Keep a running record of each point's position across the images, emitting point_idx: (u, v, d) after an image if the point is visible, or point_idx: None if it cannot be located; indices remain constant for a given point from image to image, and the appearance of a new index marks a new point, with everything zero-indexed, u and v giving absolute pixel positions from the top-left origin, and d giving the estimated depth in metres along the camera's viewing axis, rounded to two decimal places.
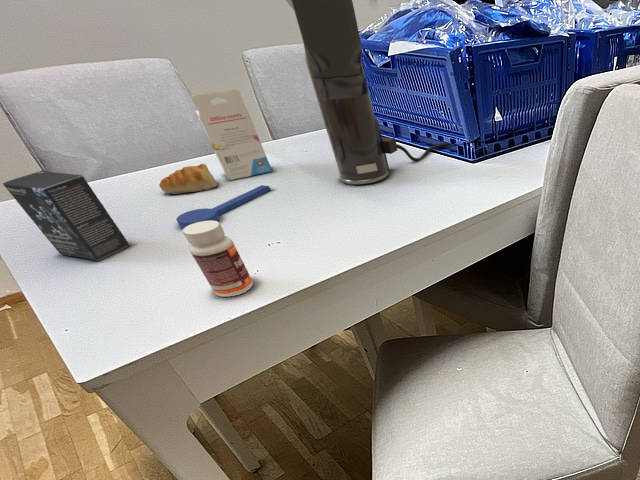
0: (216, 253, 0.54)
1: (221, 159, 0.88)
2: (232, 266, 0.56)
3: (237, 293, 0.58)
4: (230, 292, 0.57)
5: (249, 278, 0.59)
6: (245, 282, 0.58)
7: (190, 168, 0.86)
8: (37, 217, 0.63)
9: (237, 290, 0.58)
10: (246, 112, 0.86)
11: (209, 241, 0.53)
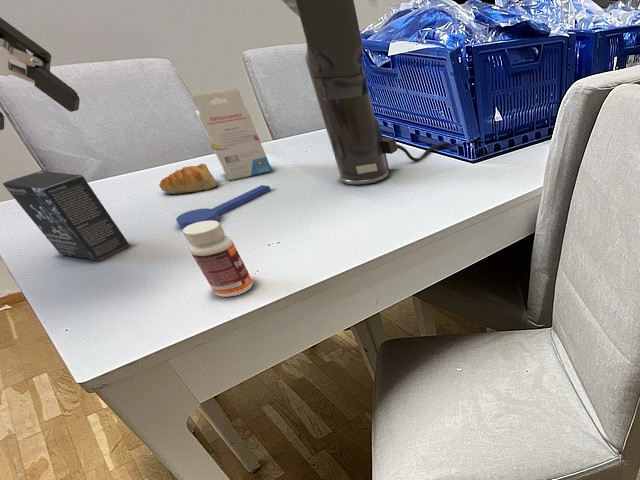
0: (216, 253, 0.54)
1: (221, 159, 0.88)
2: (232, 266, 0.56)
3: (237, 293, 0.58)
4: (230, 292, 0.57)
5: (249, 278, 0.59)
6: (245, 282, 0.58)
7: (190, 168, 0.86)
8: (37, 217, 0.63)
9: (237, 290, 0.58)
10: (246, 112, 0.87)
11: (209, 241, 0.53)
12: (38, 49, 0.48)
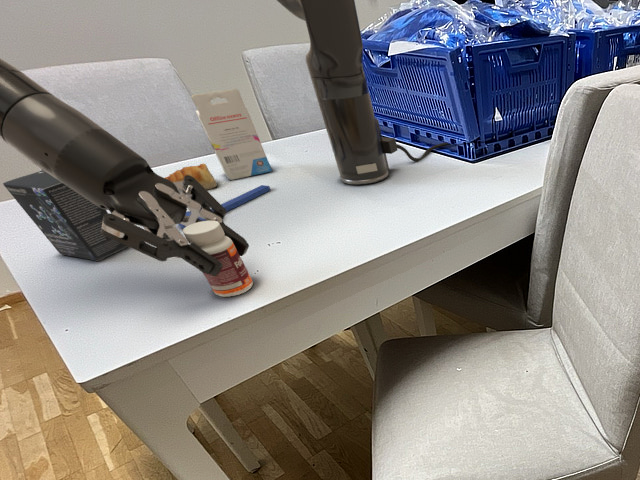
0: (216, 253, 0.54)
1: (221, 159, 0.88)
2: (232, 266, 0.56)
3: (237, 293, 0.58)
4: (230, 292, 0.57)
5: (249, 278, 0.59)
6: (245, 282, 0.58)
7: (190, 168, 0.86)
8: (37, 217, 0.63)
9: (237, 290, 0.58)
10: (246, 112, 0.87)
11: (209, 241, 0.53)
12: (217, 207, 0.57)
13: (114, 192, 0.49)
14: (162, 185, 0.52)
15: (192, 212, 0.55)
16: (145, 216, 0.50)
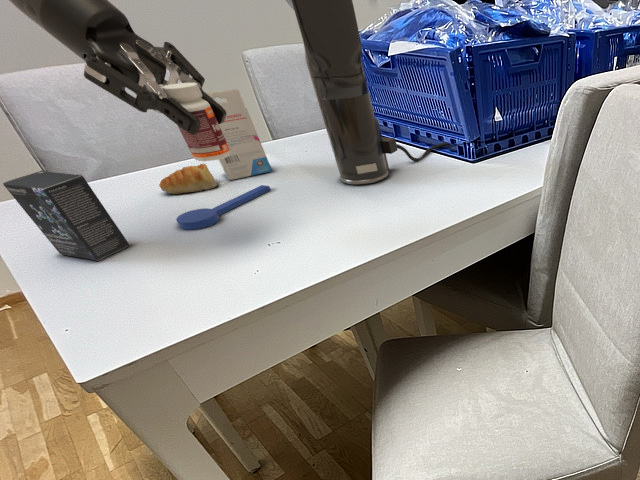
0: (194, 111, 0.57)
1: (221, 159, 0.88)
2: (209, 128, 0.59)
3: (215, 157, 0.61)
4: (208, 156, 0.61)
5: (227, 146, 0.62)
6: (223, 148, 0.62)
7: (190, 168, 0.86)
8: (37, 217, 0.63)
9: (215, 154, 0.61)
10: (246, 112, 0.86)
11: (187, 98, 0.57)
12: (196, 74, 0.60)
13: (96, 40, 0.52)
14: (142, 42, 0.56)
15: (171, 73, 0.58)
16: (126, 67, 0.54)
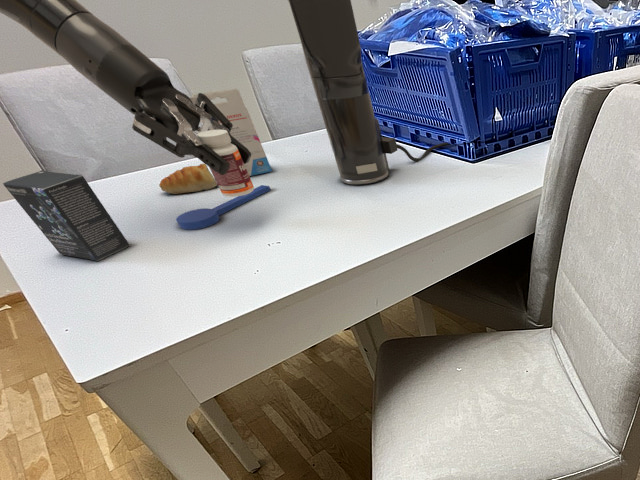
0: (224, 155, 0.66)
1: None
2: (237, 169, 0.68)
3: (240, 193, 0.69)
4: (235, 192, 0.69)
5: (251, 183, 0.71)
6: (248, 185, 0.70)
7: (190, 168, 0.86)
8: (37, 217, 0.63)
9: (241, 191, 0.69)
10: (246, 112, 0.87)
11: (219, 144, 0.65)
12: (225, 121, 0.69)
13: (142, 96, 0.61)
14: (181, 96, 0.64)
15: (205, 122, 0.66)
16: (167, 119, 0.62)
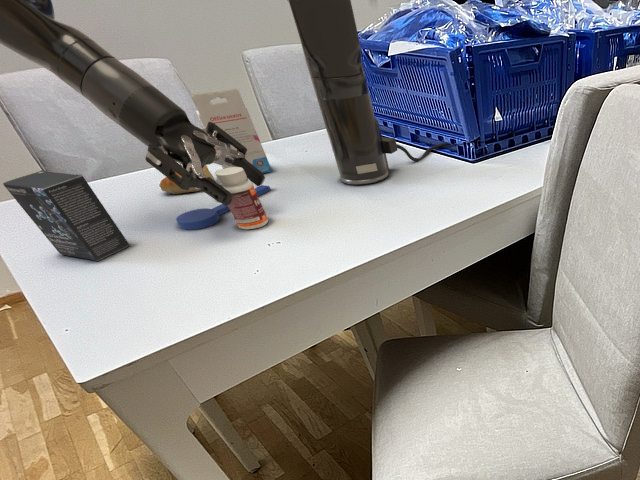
0: (241, 191, 0.69)
1: None
2: (252, 204, 0.71)
3: (255, 226, 0.73)
4: (250, 225, 0.73)
5: (265, 215, 0.74)
6: (262, 218, 0.73)
7: None
8: (37, 217, 0.63)
9: (256, 224, 0.73)
10: (246, 112, 0.87)
11: (235, 181, 0.69)
12: (240, 146, 0.72)
13: (162, 134, 0.64)
14: (197, 132, 0.67)
15: (222, 151, 0.70)
16: (186, 155, 0.65)
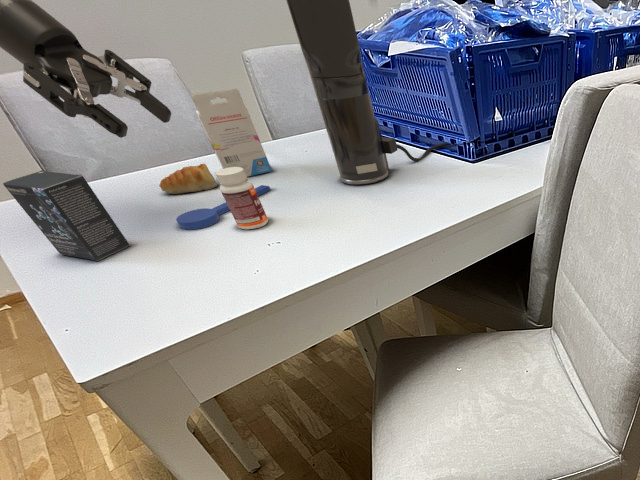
0: (241, 191, 0.69)
1: (221, 159, 0.88)
2: (252, 204, 0.71)
3: (255, 226, 0.73)
4: (250, 225, 0.73)
5: (265, 215, 0.74)
6: (262, 218, 0.73)
7: (190, 168, 0.86)
8: (37, 217, 0.63)
9: (256, 224, 0.73)
10: (246, 112, 0.87)
11: (235, 181, 0.69)
12: (143, 78, 0.67)
13: (44, 55, 0.59)
14: (88, 56, 0.62)
15: (120, 81, 0.65)
16: (72, 79, 0.60)
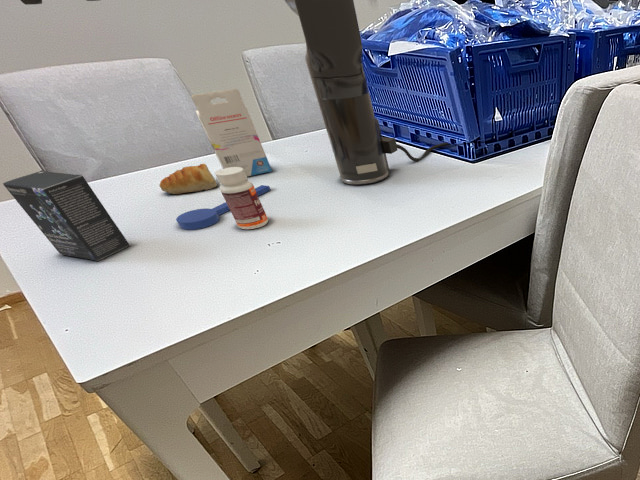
0: (241, 191, 0.69)
1: (221, 159, 0.88)
2: (252, 204, 0.71)
3: (255, 226, 0.73)
4: (250, 225, 0.73)
5: (265, 215, 0.74)
6: (262, 218, 0.73)
7: (190, 168, 0.86)
8: (37, 217, 0.63)
9: (256, 224, 0.73)
10: (246, 112, 0.86)
11: (235, 181, 0.69)
12: None
13: None
14: None
15: None
16: None
